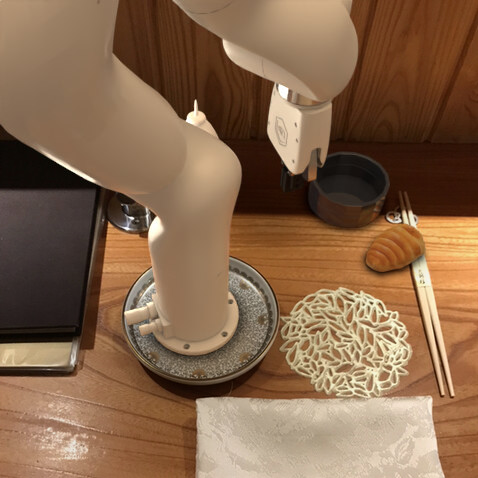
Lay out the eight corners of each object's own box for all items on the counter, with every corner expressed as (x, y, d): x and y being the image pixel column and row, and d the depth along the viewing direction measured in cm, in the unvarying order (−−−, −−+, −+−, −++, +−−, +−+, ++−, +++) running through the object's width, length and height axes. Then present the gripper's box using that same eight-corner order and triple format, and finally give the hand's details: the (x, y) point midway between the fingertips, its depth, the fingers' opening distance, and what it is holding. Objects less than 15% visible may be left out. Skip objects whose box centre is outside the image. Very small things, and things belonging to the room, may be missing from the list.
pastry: (385, 284, 84) (391, 269, 81) (353, 256, 87) (358, 240, 84) (426, 255, 88) (434, 238, 84) (394, 229, 90) (401, 212, 87)
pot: (328, 236, 89) (334, 214, 85) (296, 184, 95) (299, 161, 91) (395, 216, 92) (403, 194, 88) (359, 167, 98) (366, 144, 93)
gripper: (255, 53, 73) (250, 161, 89) (305, 125, 66) (289, 229, 81) (307, 41, 75) (293, 149, 90) (361, 110, 67) (335, 215, 83)
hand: (291, 187), depth 86 cm, fingers closed
